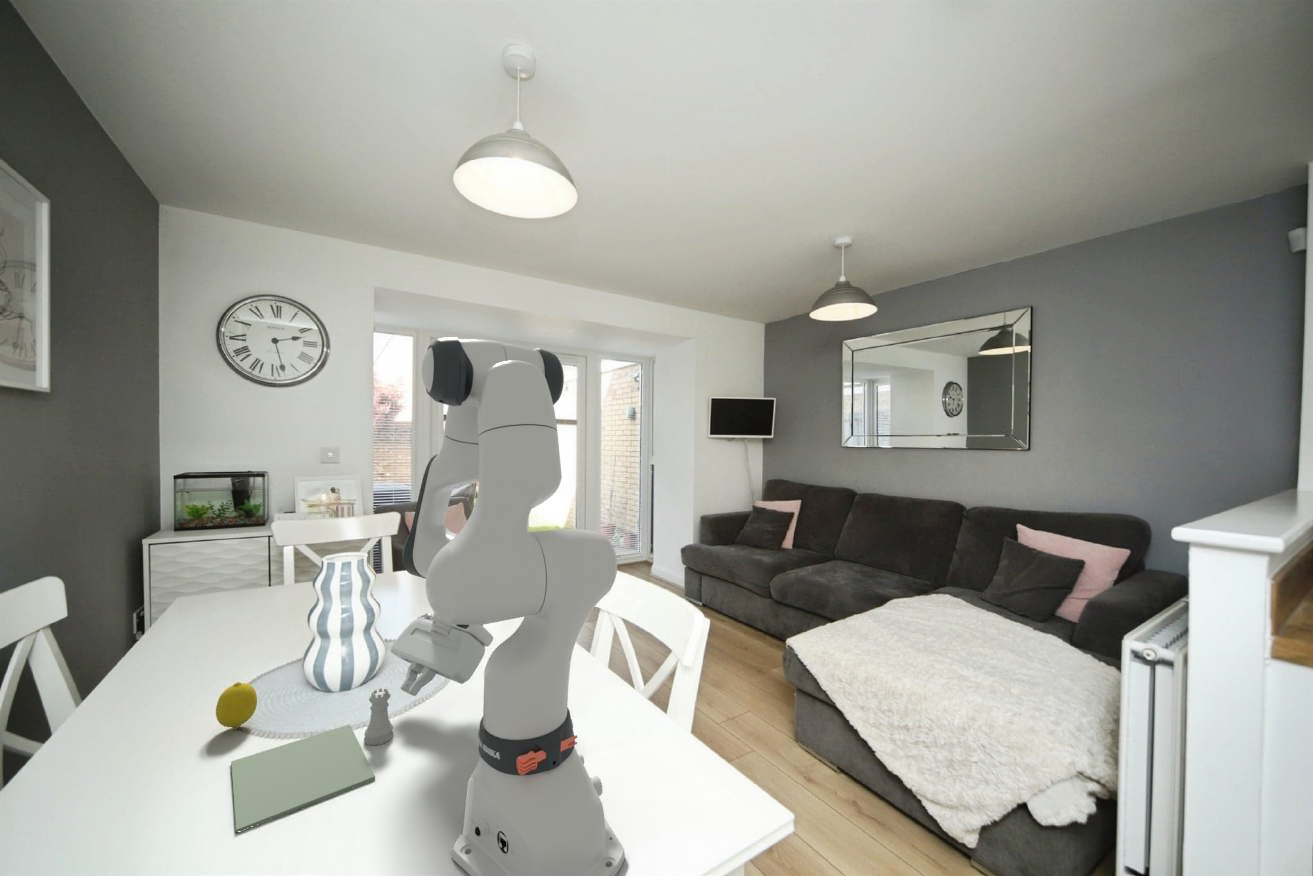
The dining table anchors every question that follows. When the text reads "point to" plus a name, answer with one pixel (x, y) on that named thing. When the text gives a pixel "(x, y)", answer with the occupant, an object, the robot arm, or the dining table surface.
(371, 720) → the rook chess piece
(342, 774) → the grayish green thin book
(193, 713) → the dining table surface
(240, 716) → the lemon
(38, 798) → the dining table surface
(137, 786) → the dining table surface
